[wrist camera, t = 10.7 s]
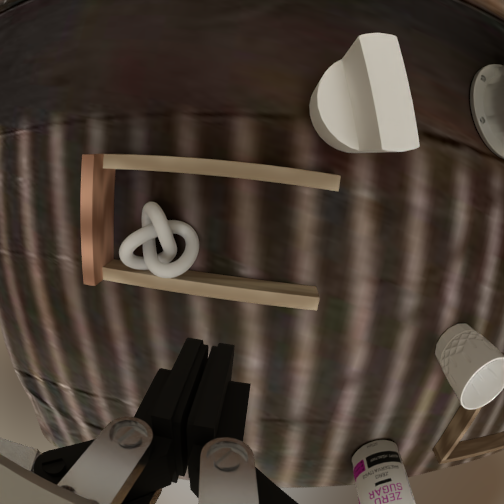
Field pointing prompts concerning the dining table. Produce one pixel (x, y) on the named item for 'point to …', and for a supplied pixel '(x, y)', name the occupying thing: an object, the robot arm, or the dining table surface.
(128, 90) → the dining table surface
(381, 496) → the supplement can
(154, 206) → the knot
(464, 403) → the white cup
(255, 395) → the dining table surface
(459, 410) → the serving tray rim
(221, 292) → the guide channel
